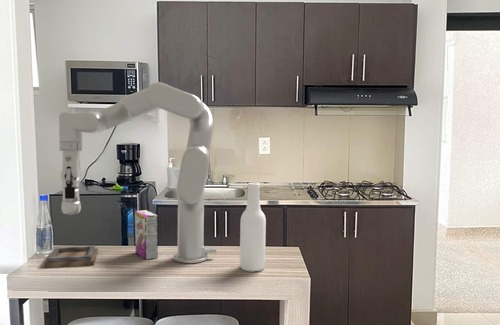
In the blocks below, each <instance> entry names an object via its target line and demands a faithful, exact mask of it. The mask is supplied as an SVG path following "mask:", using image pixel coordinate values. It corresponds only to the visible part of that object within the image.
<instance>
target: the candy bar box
mask: <svg viewBox="0 0 500 325" xmlns="http://www.w3.org/2000/svg"><path fill="white" fill-rule="evenodd" d="M134 226H135V227H134V231H135V232H134V233H135V234H134V235H135V238H134V239H135V245H134V246H135V253H136V254H137V255H139V256H140V257H142V258H143V259H145V260H147V261H149V260H153V259H158V257H159V256H158V249H159V248H158V247H159V246H158V215H157V214H156V213H154V212H151V211H149V210H146V209H143V210H135V211H134Z"/></svg>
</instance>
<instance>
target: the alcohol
mask: <svg viewBox="0 0 500 325" xmlns="http://www.w3.org/2000/svg"><path fill="white" fill-rule="evenodd" d="M247 184H248V186H247V188H248V190H247V200H246V208H245V210H244V211H243V212H242V214H241V217H240V229H239V230H240V232H239V234H240V236H239V237H240V238H239V267H240V269H241V270H242V271H244V270H245V272H249V273H251V272H253V273H255V271H257V272H261V271H263V270H264V269H265V266H266V235H267V234H266V231H267V230H266V226H267V223H266V222H267V219H266V215H265V214H264V212H263V211H262V208H261V201H260V200H261V199H260V197H261V195H260V185H261V184H260V183H258V182H248V183H247ZM263 268H264V269H263Z"/></svg>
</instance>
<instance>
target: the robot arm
mask: <svg viewBox="0 0 500 325" xmlns="http://www.w3.org/2000/svg"><path fill="white" fill-rule="evenodd" d="M158 110H163V111H166V112H168V113H171V114H174V115H177V116H179V117H182V118H184V119H187V120H188V121H189V132H188V138H187V142H186V147H185V150H184V152H183V154H182V157H181V162H180V167H179V173H178V179H177V184H176V195H177V252H176V253H175V254H174V255H173V258H172V259H173V261H175V262H177V263H182V264H195V263H196V264H197V263H198V264H199V263H202V262H205V261H206V260H207V259H208V257H209V256H208V254H216V253H217V248H215V247H212V246H211V247H205V245H204V233H205V232H204V229H205V228H204V227H205V226H204V224H205V223H204V222H205V221H204V217H205V187H206V182H207V178H208V177H207V176H208V173H209V168H210V162H211V161H210V160H211V159H210V153H211V152H210V151H211V147H212V146H211V145H212V139H213V132H214V119H213V115H212V112H211V110H210V109H209V107H208V106H207V105H206V104H205V103H204V102H203V101H202V100H201V99H200V98H199V97H198V96H196V95H195V94H193V93H189V92H187V91H184V90H181V89H179V88H177V87H173V86H171V85H169V84H166V83H164V82H161V81H155V82H153V83H151V84H150V85H149V86H148V87H146V88H144V89H141V90H139V91H136V92H134V93H131V94H128V95H126V96H124V97H121V99H120V100H118V102H116V103H114V104H113V105H110V106H108V107H105V108H103V109H100V110H98V111H84V112H83V111H82V112H78V111H62V112H60V113H59V114H58V135H59V136H58V137H59V139H58V140H59V141H58V142H59V143H58V145H59V149H58V150H59V151H60V152H62V170H63V178H64V179H65V199H74V198H75V187H74V178H76V179H78V178H79V171H80V177H81V174H82V173H81V153H80V152H82V151H83V133H87V134H96V133H101V132H104V131H107V130H110V129H112V128H114V127H117V126H119V125H122V124H124V123H128V122H130V121H133V120H135V119H137V118H140V117H143V116H145V115H148V114H150V113H153V112H155V111H158ZM65 175H66V177H65ZM71 176H72V177H73V178H70V177H71ZM71 180H72V181H71Z"/></svg>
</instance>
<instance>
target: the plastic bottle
mask: <svg viewBox="0 0 500 325" xmlns="http://www.w3.org/2000/svg"><path fill="white" fill-rule="evenodd" d="M80 171H81V170H80ZM80 171H79V178H78V179H76V178H74V187H75V198H74V199H65V179H64V178H63V169H62V170H61V171H60V172H61V173H60V179H61V183H62V201H61V207H60V208H61V212H62V214H65V215H71V216H72V215H77V214H79V213H80V212H81V209H82V204H81V201H80V200H81V199H80V180H81V179H80V178H81V176H80ZM65 177H66V175H65ZM70 178H73V177H72V176H71V177H70ZM71 181H72V180H71Z"/></svg>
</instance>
